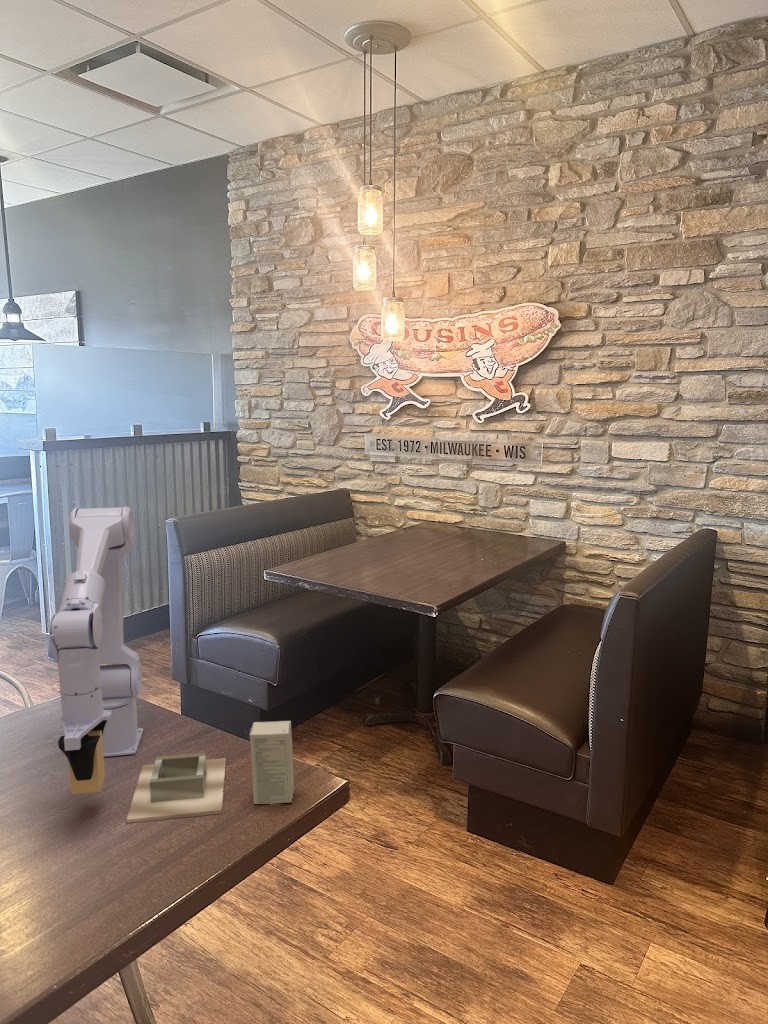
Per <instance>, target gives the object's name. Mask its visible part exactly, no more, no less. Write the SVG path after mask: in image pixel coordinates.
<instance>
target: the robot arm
mask: <svg viewBox="0 0 768 1024" xmlns="http://www.w3.org/2000/svg"><path fill="white" fill-rule="evenodd" d="M69 514H70V515H69V519H68V529H69V535H70V536H69V537H70V539H71V540H72V542H73V543H74V546H75V547H76V548H77V557H76V558H77V561H76V568H75V569H76V570H75V572H72V573H71V574H69V575H68V577H67V578H66V580H65V585H64V589H63V594H62V599H61V601H60V605H59V610H58V611H57V613H56V614H53V615H52V616H51V617H50V621H49V624H48V625H49V627H48V632H49V633H48V635H49V644H50V647H51V649H52V652H53V653H52V654H53V661H54V663H56V664H57V669H58V679H59V680H58V683H59V693H60V695H59V696H60V706H61V715H62V716H61V719H60V722H61V727H62V730H63V735H61V736H60V737H59V739H58V741H57V746H58V748H59V750H60V751H61V752H62V753H63V754H64V755H65V757H66V758H67V760H68V763H69V762H70V765H71V767H72V770H73V773H74V776H75V778H76V780H77V781H80V780H90V779H91V778H92V774H93V767H94V755H95V749H96V746H97V743H98V741H99V738H100V735H98V736H88V734H87V733H88V732H89V731H97V730H101V731H102V744H103V757H104V758H105V757H106V758H107V757H115V756H126V755H127V756H128V755H135V754H136V753H137V750H138V748H139V744H140V741H141V740H142V739H141V738H142V735H143V732H144V728H142V727H138V713H137V712H138V711H137V702H136V701H137V700H136V699H137V698H138V697H139V696H140V695H141V693H142V689H143V688H142V687H143V686H142V685H143V672H142V671H143V670H142V667H141V657H140V655H139V654H138V653H137V652H136V651H134V650H133V649H131V648H129V647H128V646H126V644H124V643H125V642H124V601H123V599H124V596H123V595H124V594H123V562H124V557H125V555H127V554H130V553H131V552H133V551H134V545H135V532H134V531H135V529H134V528H135V526H134V525H135V524H134V516H133V515H134V514H133V511H132V509H131V508H130V507H129V506H121V507H95V508H94V507H93V508H92V507H91V508H90V507H88V508H86V507H85V508H80V507H75V508H73V509H72V511H71V512H70V513H69ZM86 734H87V735H86Z"/></svg>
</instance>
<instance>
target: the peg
mask: <svg viewBox="0 0 768 1024" xmlns="http://www.w3.org/2000/svg"><path fill="white" fill-rule="evenodd" d="M87 734H88V736H98V735H100V738H99V741H98V743H97V746H96V749H95V755H94V767H93V774H92V778H91V779H90V780H80V781H77V780H76V778H75V776H74V773H73V770H72V767H71V765H70V762H69V761H68V765H69V776H70V786H71V788H70V789H71V795H77V794H78V795H79V794H89V793H97V792H98V793H99V792H101V789H102V787H103V783H104V781H105V780H106V772H105V770H106V769H105V760H104V758H105V757H103V744H102V731H101V730H97V731H89V732H88V733H87ZM87 734H86V735H87Z"/></svg>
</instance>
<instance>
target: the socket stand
mask: <svg viewBox="0 0 768 1024" xmlns="http://www.w3.org/2000/svg"><path fill="white" fill-rule="evenodd" d="M155 758H156V759H155V762H154V764H143V765H141V766H142V767H141V770H140V774H139V776H138V780H137V783H136V787H135V791H134V794H133V797H132V799H131V803H130V807H129V810H128V814H127V817H126V824H130V823H133V824H134V823H142V822H151V821H161V820H172V819H179V818H190V817H191V818H192V817H201V816H210V815H211V816H212V815H220V814H222V813H223V802H224V792H223V791H224V788H225V780H224V779H226V778H225V777H226V768H225V767H226V764H227V758H226V757H223V758H222V757H221V758H210V759H207V753H206V752H199V753H189V754H186V753H185V754H177V755H165V756H156V757H155Z"/></svg>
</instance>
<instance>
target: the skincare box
mask: <svg viewBox="0 0 768 1024" xmlns="http://www.w3.org/2000/svg"><path fill="white" fill-rule="evenodd" d="M251 726H252V727H251V728H250V732H249V743H250V744H249V746H250V759H251V760H250V761H251V762H250V763H251V776H252V779H251V781H252V793H253V795H252V796H253V797H252V798H253V804H261V803H263V804H265V803H281V802H289V801H292V798H293V799H294V796H293V793H294V794H295V778H294V773H295V772H294V758H293V757H294V756H293V754H294V753H293V737H292V736H293V735H292V734H293V732H292V721H291V720H277V721H255V722H253V723H252V725H251ZM292 802H293V801H292Z"/></svg>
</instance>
